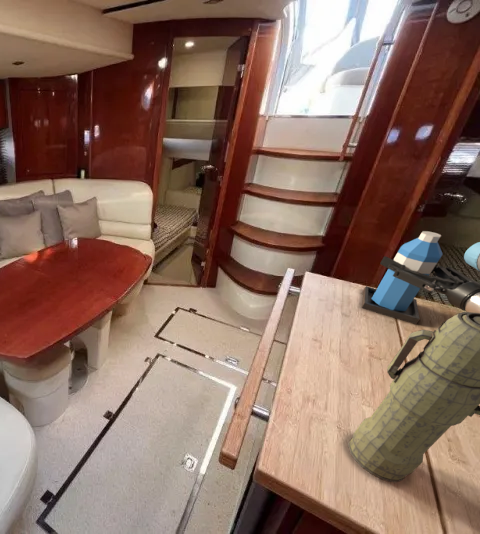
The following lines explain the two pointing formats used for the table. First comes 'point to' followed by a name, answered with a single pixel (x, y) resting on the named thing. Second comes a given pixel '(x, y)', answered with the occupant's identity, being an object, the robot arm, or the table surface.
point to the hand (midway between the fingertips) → (397, 259)
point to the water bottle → (414, 258)
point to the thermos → (422, 399)
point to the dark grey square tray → (408, 315)
